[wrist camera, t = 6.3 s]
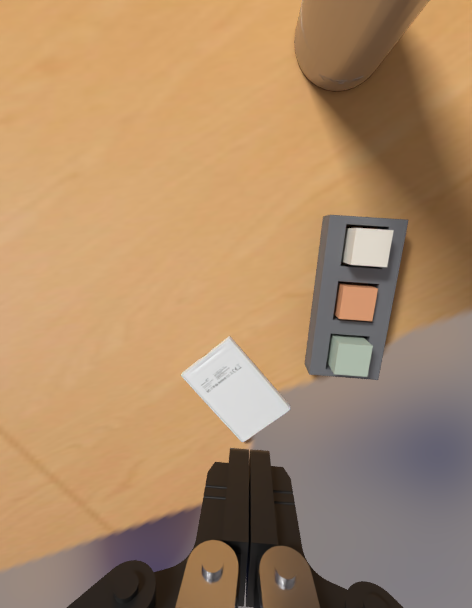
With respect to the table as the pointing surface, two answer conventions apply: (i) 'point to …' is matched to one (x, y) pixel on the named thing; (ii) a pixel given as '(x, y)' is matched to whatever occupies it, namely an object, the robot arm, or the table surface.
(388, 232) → the cream button
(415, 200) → the table surface
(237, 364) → the external hard drive
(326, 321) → the keypad
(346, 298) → the terracotta button
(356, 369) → the sage button
